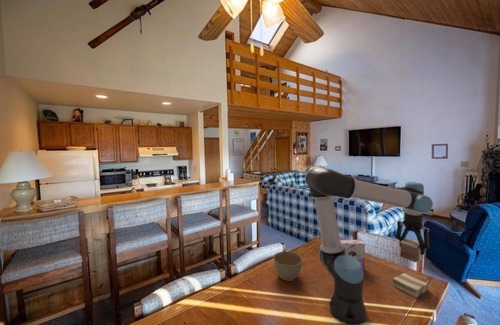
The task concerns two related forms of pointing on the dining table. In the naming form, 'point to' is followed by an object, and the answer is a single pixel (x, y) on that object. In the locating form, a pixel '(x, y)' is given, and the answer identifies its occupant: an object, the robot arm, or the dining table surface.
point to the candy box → (355, 249)
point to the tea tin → (409, 249)
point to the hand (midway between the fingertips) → (411, 256)
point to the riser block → (410, 284)
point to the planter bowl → (288, 265)
